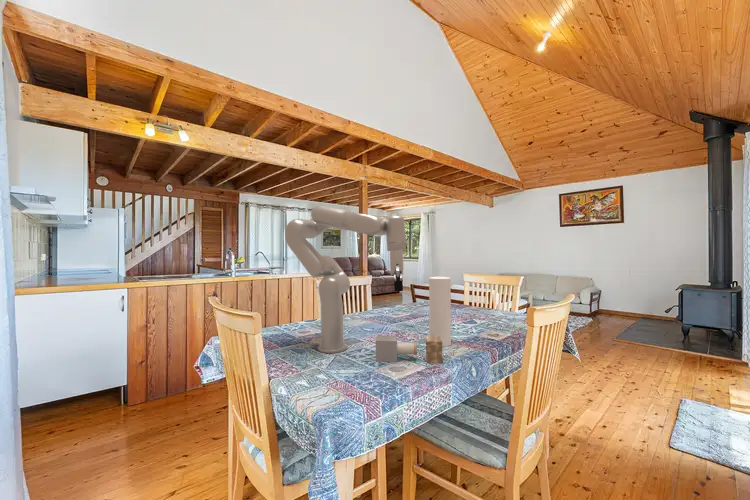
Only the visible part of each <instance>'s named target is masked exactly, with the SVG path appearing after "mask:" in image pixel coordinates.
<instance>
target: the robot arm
mask: <svg viewBox="0 0 750 500" xmlns="http://www.w3.org/2000/svg"><path fill="white" fill-rule="evenodd" d="M310 216H311V219H303V218H296V219H292V220H290V221H289V222H288V223H287V224H286V227H285V231H284V236H285V237H284V239H285V242H286V244H287V246H288V248H289V249H290V251H291V252H292V253H293V254H294V255H295V256H296V258H297V259H298V260H299V262H300V263H301V265H302V266H303V268H305V270H306V272H308V274H309V276H311V277H312V278H322V279H320V281H319V284H318V294H319V295H318V296H319V302H320V337H319V338H313V337H312V338H311V343H312V345H317V351H319V352H321V353H325V354H326V353H327V354H335V353H341V352H344V351H346V350H348V344H347V343H345V342H344V306H343V300H342V295H344V294H346V293H347V292H348V291H349V290H350V287H351V281H350V279H349V277H348V275H347V274H346V273H345V272H344V270H343V269H342V267H340V265H339V264H338V262H337V261H336V259H334V258H332V257H331V256H329V255H322V254H320V253H319V252H318V250H317V249H316V248H315V247H314V245H313V244H312V243H311V242H309V241H308V239H314V238H316V237H318V236H319V235H321V234H323V233H324V232H326V231H327V230H329V229H331V228H334V229H339V230H344V231H350V232H354V233H360V234H364V235H368V236H376V237H380V236H381V237H382V236H386V250H387V252H389V264H390V265H389V266H390V270H389V271H390V276H394V278H393V284H394V285H393V286H394V288H393V289H394V292H403V291H404V288H403V287H404V286H403V278H402V276H403V275H404V251H406V250H407V249H406V248H407V247H406V245H407V244H406V243H407V242H406V230H405V229H406V228H405V227H406V226H405V218H404V217H403V216H401V215H392V216H388V217H387V218H385V217H379V216H375V215H369V214H366V213H365V214H364V213H360V212H359V213H358V212H354V211H351V210H350V209H349V210H348V209H345V208H339V207H333V206H330V205H325V204H320V205H319V204H318V205H316V206H314V207H313V208H312V210H311V213H310Z"/></svg>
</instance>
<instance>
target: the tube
mask: <svg viewBox="0 0 750 500" xmlns="http://www.w3.org/2000/svg"><path fill="white" fill-rule="evenodd" d="M417 347H418V346H417V342H413V343H412V342H397V355H411V356H413V355H414V356H417V351H418V350H417Z"/></svg>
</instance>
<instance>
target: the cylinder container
mask: <svg viewBox="0 0 750 500" xmlns="http://www.w3.org/2000/svg"><path fill="white" fill-rule="evenodd" d="M451 281H452V280H451V277H450V276H448V277H447V276H443V275H442V276H440V275H439V276H438V275H437V276H431V277H429V278H428V282H429V283H428V288H429V289H428V290H429V291H428V294H429V295H428V296H429V297H428V299H429V300H428V301H429V305H428V306H429V308H428V309H429V313H428V314H429V315H428V316H429V317H428V318H429V336H440V337H441V340H442V348H444V347H449V346H451V344H452V319H451V318H452V317H451V316H452V312H451V311H452V308H451V307H452V299H451V297H452V295H451V292H452V291H451V290H452V288H451V287H452V285H451V283H452V282H451Z"/></svg>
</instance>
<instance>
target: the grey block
mask: <svg viewBox="0 0 750 500" xmlns="http://www.w3.org/2000/svg"><path fill="white" fill-rule="evenodd" d="M397 343H398V335H376V338H375V362H376V363H377V362H378V363H380V362H381V363H382V362H383V363H397V362H398V354H397Z"/></svg>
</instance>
